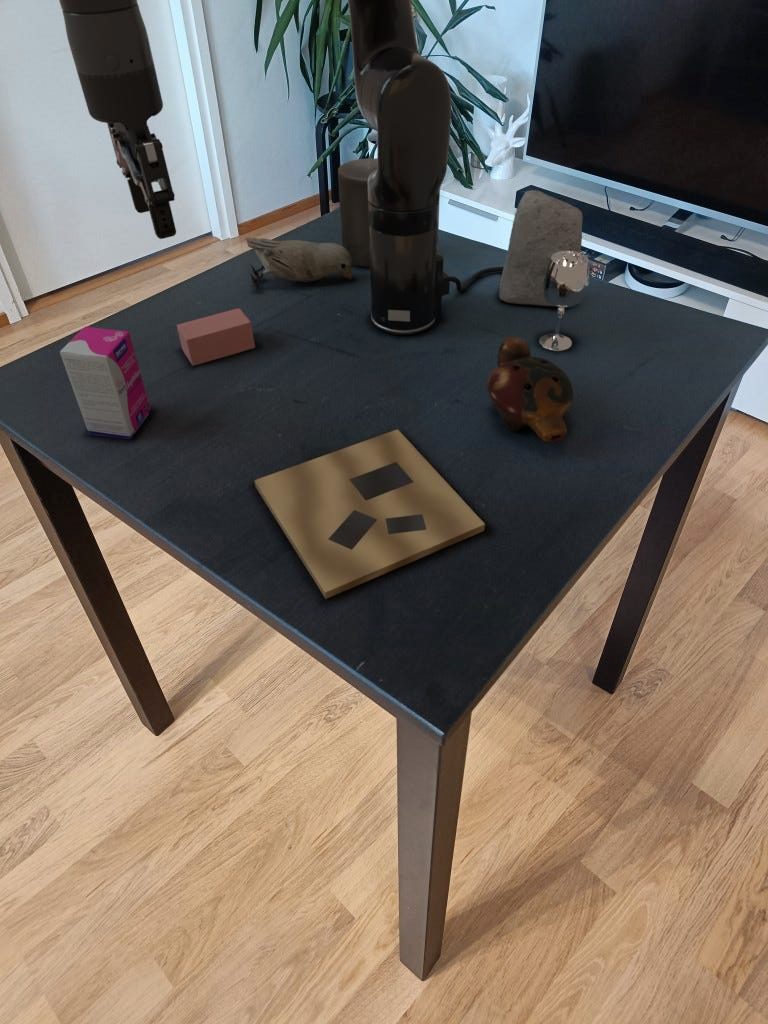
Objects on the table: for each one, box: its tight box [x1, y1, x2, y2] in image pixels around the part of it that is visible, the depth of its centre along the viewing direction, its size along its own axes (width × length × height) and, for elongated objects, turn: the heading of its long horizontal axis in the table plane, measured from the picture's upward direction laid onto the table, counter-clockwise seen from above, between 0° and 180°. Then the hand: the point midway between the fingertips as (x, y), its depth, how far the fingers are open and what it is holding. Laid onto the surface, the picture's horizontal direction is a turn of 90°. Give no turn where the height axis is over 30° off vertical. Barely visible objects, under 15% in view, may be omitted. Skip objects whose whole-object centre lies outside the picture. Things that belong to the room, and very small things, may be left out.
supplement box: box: [59, 326, 152, 440], centre depth 83 cm, size 6×6×12 cm
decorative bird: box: [244, 237, 353, 290], centre depth 109 cm, size 5×16×8 cm, turn 95°
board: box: [253, 428, 486, 600], centre depth 75 cm, size 18×18×1 cm
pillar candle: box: [337, 157, 377, 268], centre depth 113 cm, size 10×10×15 cm
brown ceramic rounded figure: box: [487, 336, 574, 444], centre depth 83 cm, size 10×15×8 cm, turn 21°
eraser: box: [176, 307, 256, 367], centre depth 97 cm, size 9×4×4 cm, turn 119°
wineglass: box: [538, 251, 590, 352], centre depth 94 cm, size 6×6×12 cm
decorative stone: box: [498, 189, 584, 308], centre depth 101 cm, size 11×6×15 cm, turn 71°
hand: (155, 223), depth 82 cm, fingers open, 8 cm apart
